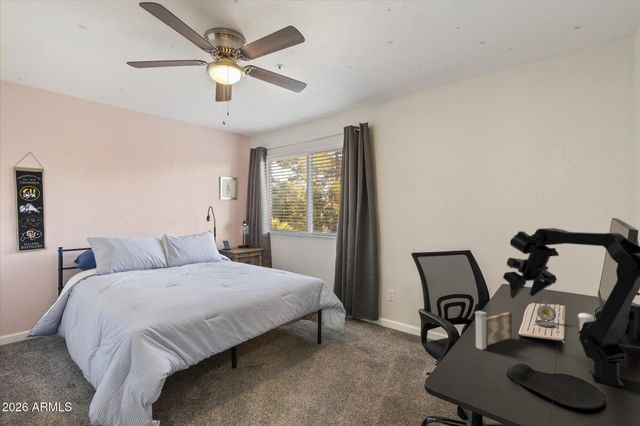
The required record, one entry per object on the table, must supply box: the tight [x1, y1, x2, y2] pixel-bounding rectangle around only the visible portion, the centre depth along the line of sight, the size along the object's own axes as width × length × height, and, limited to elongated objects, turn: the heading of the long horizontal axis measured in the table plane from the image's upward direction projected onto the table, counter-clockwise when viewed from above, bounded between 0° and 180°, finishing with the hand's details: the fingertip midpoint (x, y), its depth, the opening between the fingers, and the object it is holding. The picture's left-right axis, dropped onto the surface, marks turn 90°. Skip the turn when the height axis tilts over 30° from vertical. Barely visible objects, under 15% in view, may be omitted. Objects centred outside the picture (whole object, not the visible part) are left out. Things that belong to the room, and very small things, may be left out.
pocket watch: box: [534, 299, 557, 328], centre depth 133 cm, size 8×8×10 cm
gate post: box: [474, 310, 488, 351], centre depth 111 cm, size 3×3×13 cm
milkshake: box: [577, 311, 596, 331], centre depth 119 cm, size 5×5×10 cm
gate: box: [486, 311, 513, 347], centre depth 115 cm, size 16×1×9 cm, turn 117°
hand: (521, 296), depth 115 cm, fingers open, 9 cm apart
